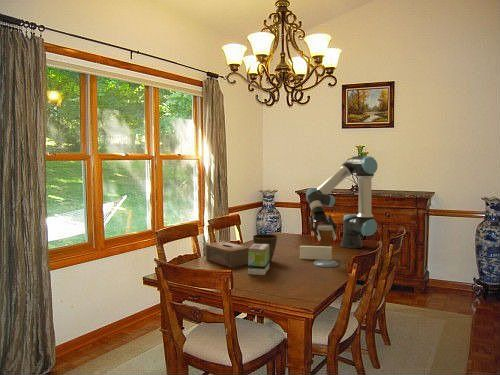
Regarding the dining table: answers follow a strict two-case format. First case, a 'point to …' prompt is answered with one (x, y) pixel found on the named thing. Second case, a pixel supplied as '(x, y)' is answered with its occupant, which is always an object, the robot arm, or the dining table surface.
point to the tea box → (258, 259)
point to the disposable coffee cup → (325, 234)
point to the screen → (316, 252)
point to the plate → (326, 263)
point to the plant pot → (266, 242)
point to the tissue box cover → (227, 253)
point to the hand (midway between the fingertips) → (327, 239)
